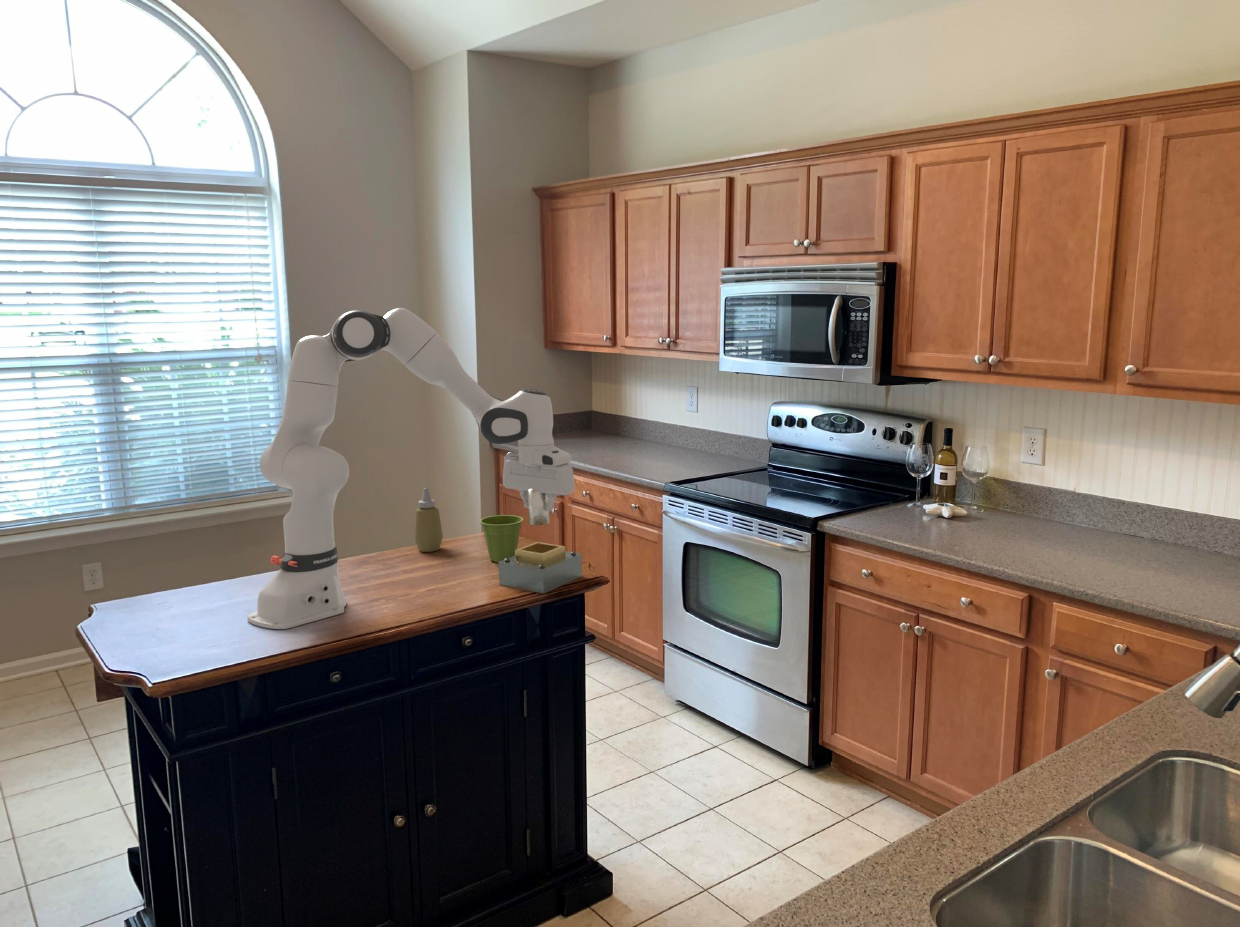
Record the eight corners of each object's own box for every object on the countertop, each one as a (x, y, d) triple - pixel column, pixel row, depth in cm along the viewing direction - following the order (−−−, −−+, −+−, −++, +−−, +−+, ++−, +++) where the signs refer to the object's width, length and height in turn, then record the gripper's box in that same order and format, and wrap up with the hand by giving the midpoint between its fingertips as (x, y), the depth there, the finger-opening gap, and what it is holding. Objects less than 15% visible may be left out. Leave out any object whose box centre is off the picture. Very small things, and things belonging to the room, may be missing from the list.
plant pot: (531, 561, 258) (529, 521, 256) (489, 568, 253) (487, 527, 251) (516, 551, 269) (514, 512, 267) (475, 557, 264) (473, 517, 262)
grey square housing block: (543, 593, 231) (542, 559, 229) (499, 584, 239) (498, 552, 237) (582, 576, 244) (581, 544, 243) (539, 568, 252) (537, 537, 250)
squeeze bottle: (415, 554, 267) (411, 492, 264) (414, 547, 275) (410, 486, 272) (444, 552, 269) (441, 490, 266) (442, 544, 277) (438, 484, 274)
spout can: (540, 526, 235) (539, 482, 233) (525, 523, 238) (523, 480, 236) (553, 521, 239) (551, 479, 237) (537, 519, 242) (535, 477, 240)
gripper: (496, 453, 238) (498, 506, 241) (561, 460, 227) (563, 516, 230) (512, 449, 244) (514, 502, 246) (576, 455, 233) (578, 510, 235)
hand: (538, 508), depth 238 cm, fingers closed on spout can, 5 cm apart
